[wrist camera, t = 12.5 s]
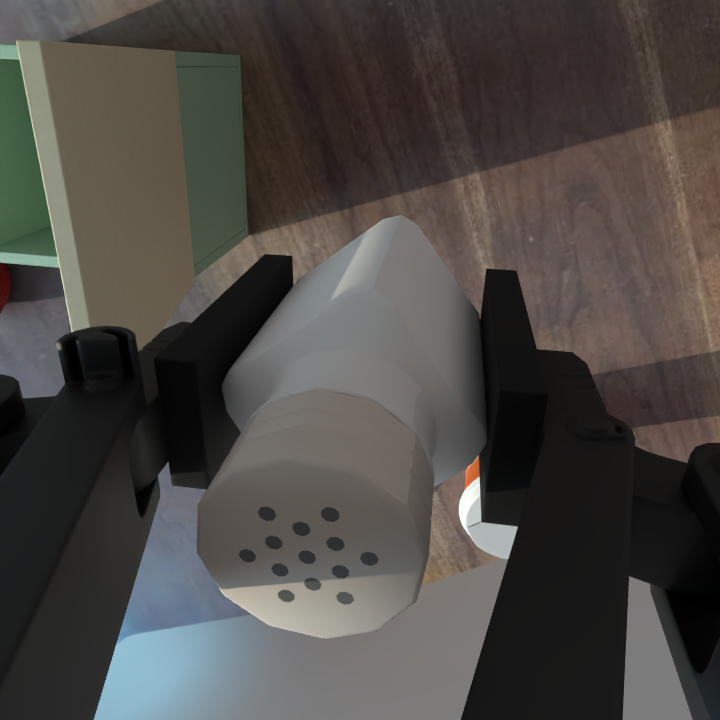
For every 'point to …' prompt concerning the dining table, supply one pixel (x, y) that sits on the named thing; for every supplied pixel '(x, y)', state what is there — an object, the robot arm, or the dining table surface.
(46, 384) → the dining table surface
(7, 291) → the pomegranate
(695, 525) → the robot arm
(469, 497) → the paper cup
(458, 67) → the dining table surface
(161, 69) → the cover
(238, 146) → the case
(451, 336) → the pepper shaker
